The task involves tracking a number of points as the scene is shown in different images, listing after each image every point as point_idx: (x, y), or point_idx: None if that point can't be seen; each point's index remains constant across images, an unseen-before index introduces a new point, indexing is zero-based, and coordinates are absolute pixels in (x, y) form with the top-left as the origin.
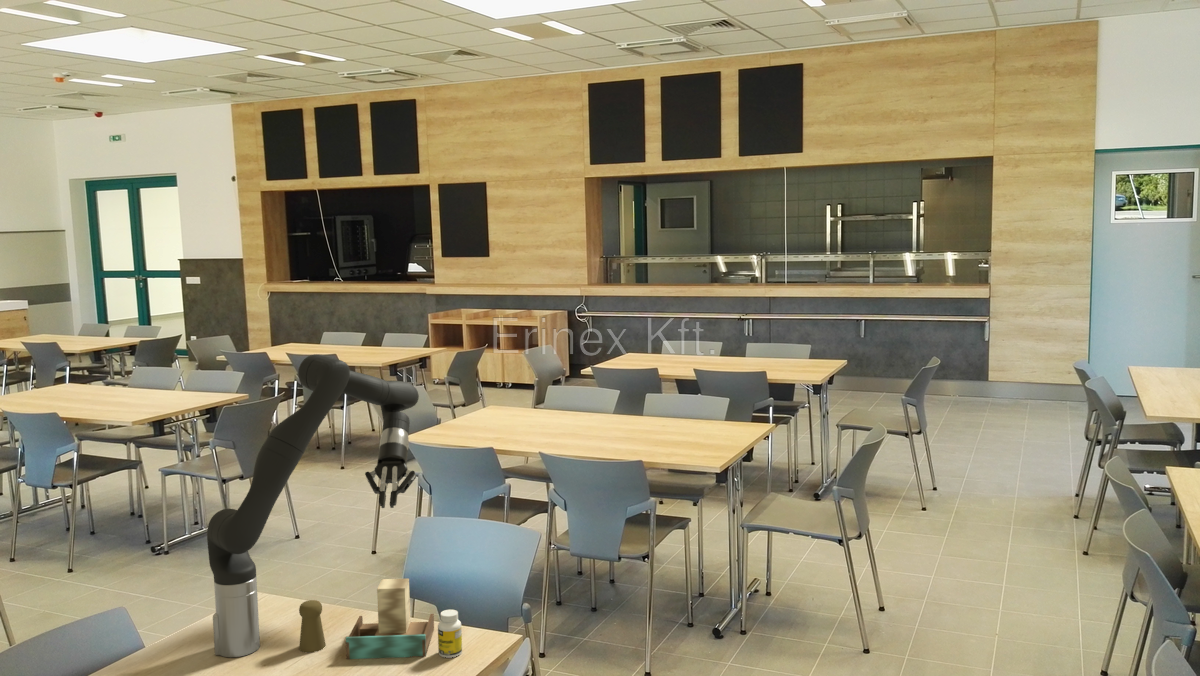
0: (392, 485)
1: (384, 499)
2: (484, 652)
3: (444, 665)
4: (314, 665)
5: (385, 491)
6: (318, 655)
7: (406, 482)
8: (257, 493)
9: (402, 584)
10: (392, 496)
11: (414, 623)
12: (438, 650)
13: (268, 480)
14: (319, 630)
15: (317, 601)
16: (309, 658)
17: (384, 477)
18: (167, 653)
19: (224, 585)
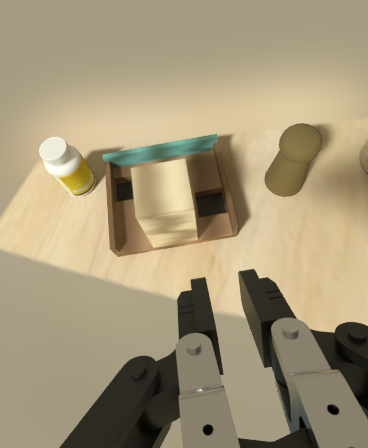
0: (215, 368)
1: (248, 304)
2: (36, 191)
3: (84, 153)
4: (251, 134)
5: (280, 387)
6: (260, 158)
7: (93, 414)
8: None
9: (140, 184)
10: (197, 304)
11: (144, 241)
12: (94, 176)
13: None
14: (274, 159)
15: (293, 142)
16: (268, 149)
17: (325, 418)
18: None
19: None
